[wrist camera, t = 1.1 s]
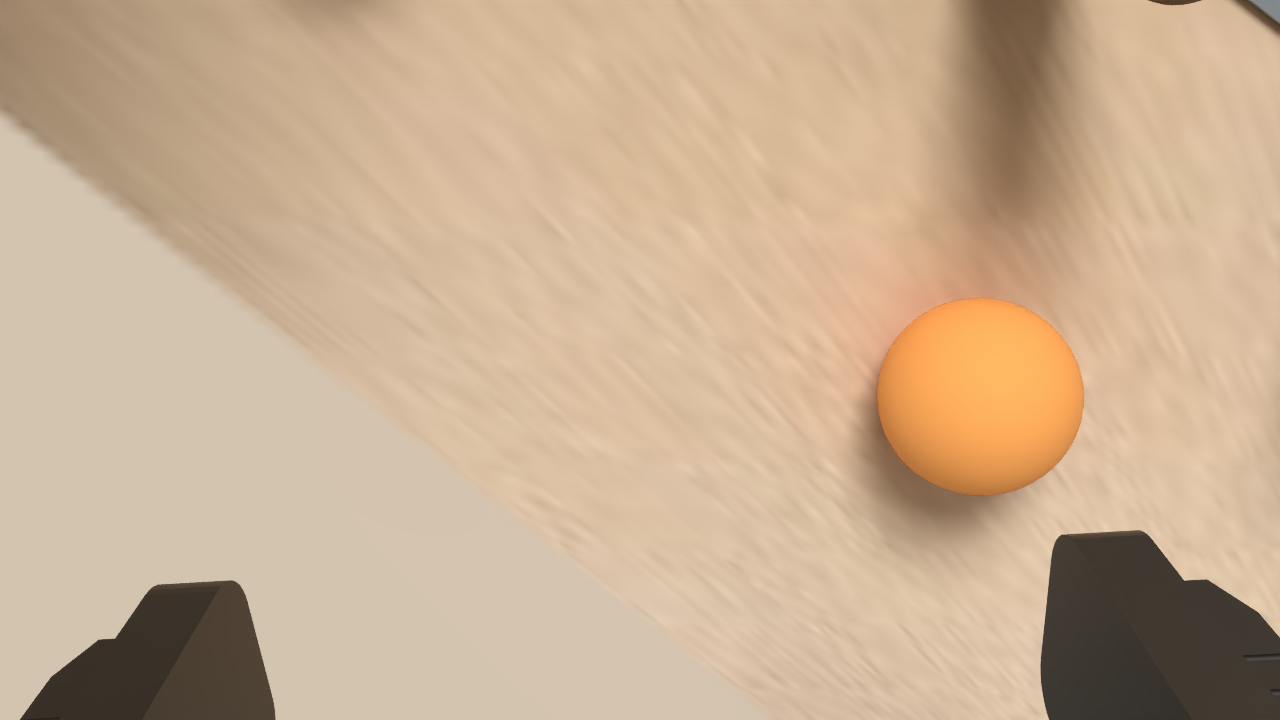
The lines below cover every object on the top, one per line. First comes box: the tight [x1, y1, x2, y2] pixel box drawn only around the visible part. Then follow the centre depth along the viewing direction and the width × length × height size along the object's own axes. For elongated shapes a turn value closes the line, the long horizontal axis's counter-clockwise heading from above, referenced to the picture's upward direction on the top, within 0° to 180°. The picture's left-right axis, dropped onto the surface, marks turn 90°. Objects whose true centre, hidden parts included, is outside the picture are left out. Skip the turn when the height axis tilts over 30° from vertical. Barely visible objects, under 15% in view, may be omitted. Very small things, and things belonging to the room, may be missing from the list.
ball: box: [877, 298, 1084, 495], centre depth 27 cm, size 5×5×5 cm
